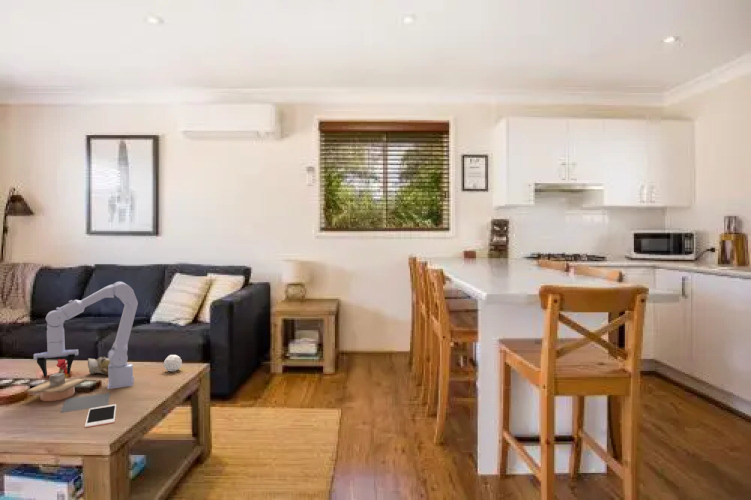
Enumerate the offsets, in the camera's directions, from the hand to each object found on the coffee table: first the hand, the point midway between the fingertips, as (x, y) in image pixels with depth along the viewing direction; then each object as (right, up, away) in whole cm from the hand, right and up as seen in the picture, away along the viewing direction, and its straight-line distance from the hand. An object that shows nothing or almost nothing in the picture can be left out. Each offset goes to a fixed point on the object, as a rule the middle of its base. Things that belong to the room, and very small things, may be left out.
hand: (57, 374), depth 185 cm
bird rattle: (-9, -8, +16) cm, 20 cm away
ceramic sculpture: (+1, -8, +30) cm, 31 cm away
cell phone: (+28, -11, -18) cm, 35 cm away
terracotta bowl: (0, -9, 0) cm, 9 cm away
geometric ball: (+31, -7, +34) cm, 47 cm away
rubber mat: (+16, -9, -6) cm, 19 cm away
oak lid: (0, -4, 0) cm, 4 cm away
